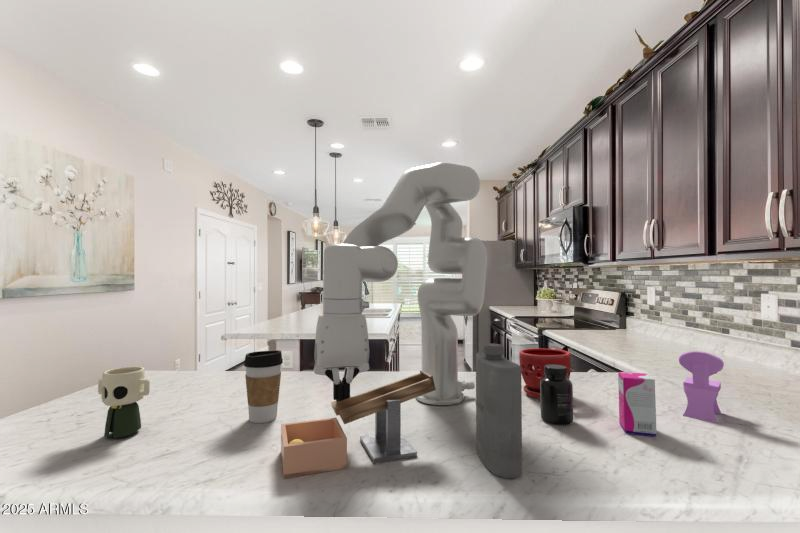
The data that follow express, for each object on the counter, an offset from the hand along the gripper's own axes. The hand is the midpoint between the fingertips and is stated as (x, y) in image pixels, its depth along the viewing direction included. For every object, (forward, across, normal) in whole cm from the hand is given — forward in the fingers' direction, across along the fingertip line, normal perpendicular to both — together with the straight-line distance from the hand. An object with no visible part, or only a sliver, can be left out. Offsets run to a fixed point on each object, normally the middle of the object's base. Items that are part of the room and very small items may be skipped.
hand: (341, 402), depth 76 cm
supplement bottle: (+8, -48, +4) cm, 49 cm away
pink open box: (+8, +6, +5) cm, 11 cm away
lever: (-1, -8, +2) cm, 8 cm away
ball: (+6, +9, +5) cm, 11 cm away
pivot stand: (+8, -8, +5) cm, 12 cm away
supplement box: (+8, -60, +14) cm, 62 cm away
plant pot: (+7, -58, -12) cm, 60 cm away
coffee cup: (+8, +14, -19) cm, 25 cm away
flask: (+8, -25, +15) cm, 30 cm away
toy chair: (+7, -83, +12) cm, 84 cm away
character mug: (+8, +41, -19) cm, 46 cm away
